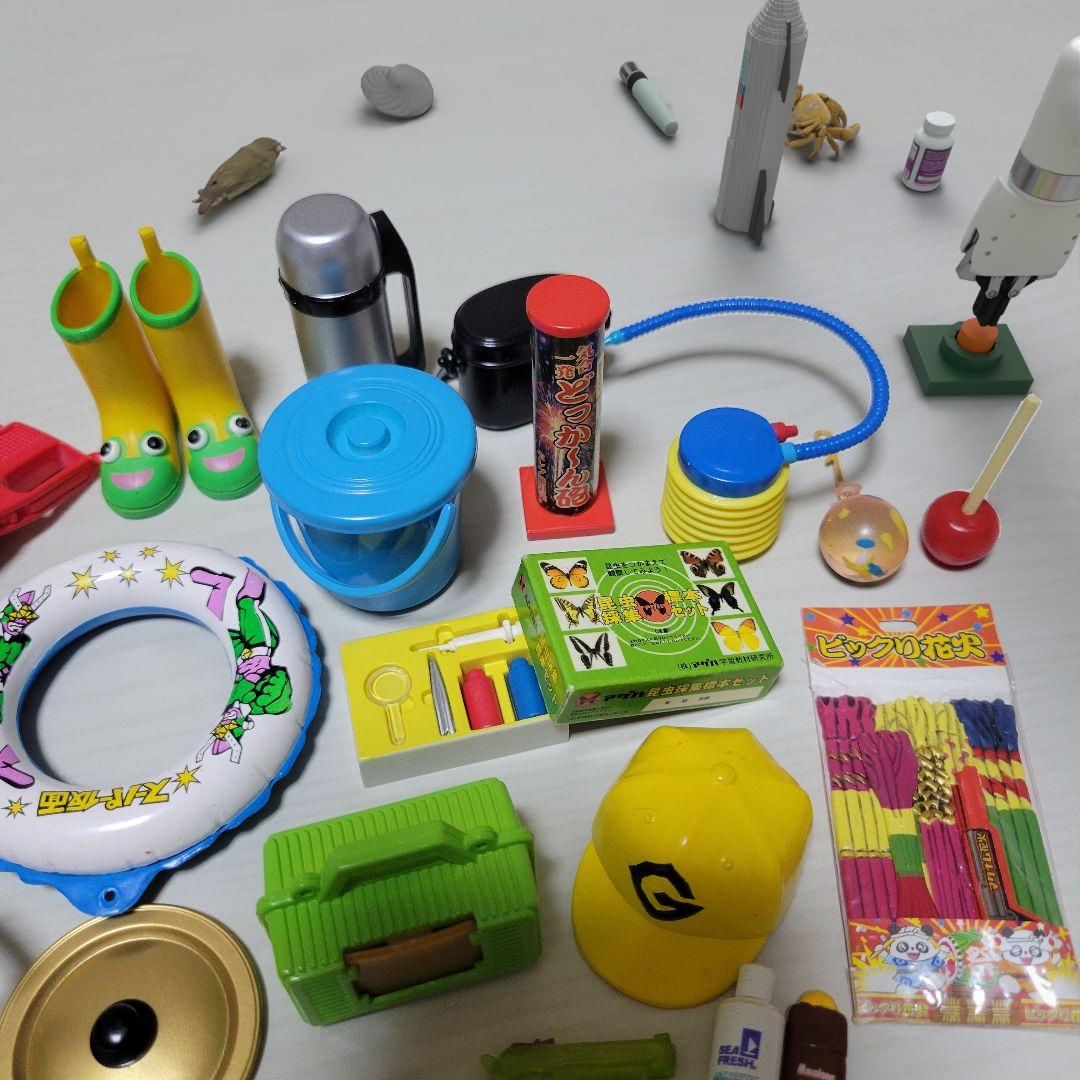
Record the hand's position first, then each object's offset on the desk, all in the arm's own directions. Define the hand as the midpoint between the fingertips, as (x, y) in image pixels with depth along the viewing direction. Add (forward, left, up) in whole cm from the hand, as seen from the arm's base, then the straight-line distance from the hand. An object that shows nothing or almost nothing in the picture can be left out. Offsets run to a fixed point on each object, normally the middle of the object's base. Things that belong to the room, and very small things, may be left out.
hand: (983, 318), depth 108 cm
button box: (0, 0, -7) cm, 7 cm away
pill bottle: (-5, -39, -7) cm, 40 cm away
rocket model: (+22, -31, -7) cm, 39 cm away
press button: (0, 0, -3) cm, 4 cm away
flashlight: (+32, -61, -7) cm, 69 cm away
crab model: (+8, -52, -7) cm, 53 cm away
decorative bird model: (+93, -40, -7) cm, 101 cm away
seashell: (+72, -63, -7) cm, 96 cm away
